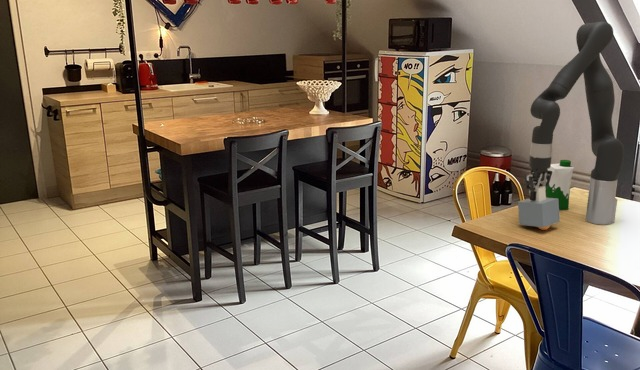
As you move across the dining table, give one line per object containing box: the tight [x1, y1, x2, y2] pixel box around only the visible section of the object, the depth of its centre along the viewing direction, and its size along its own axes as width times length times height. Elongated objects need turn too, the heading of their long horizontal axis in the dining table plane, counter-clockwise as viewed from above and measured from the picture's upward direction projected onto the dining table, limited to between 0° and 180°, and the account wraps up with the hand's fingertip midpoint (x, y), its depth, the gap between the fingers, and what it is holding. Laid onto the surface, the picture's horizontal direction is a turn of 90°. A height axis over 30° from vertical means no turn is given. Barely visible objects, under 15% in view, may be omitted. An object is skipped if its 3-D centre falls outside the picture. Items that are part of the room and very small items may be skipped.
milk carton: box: [545, 159, 575, 211], centre depth 229 cm, size 9×9×20 cm
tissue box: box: [517, 185, 561, 228], centre depth 208 cm, size 10×10×14 cm
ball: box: [537, 225, 551, 231], centre depth 207 cm, size 5×5×5 cm
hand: (536, 198), depth 208 cm, fingers closed on tissue box, 4 cm apart
